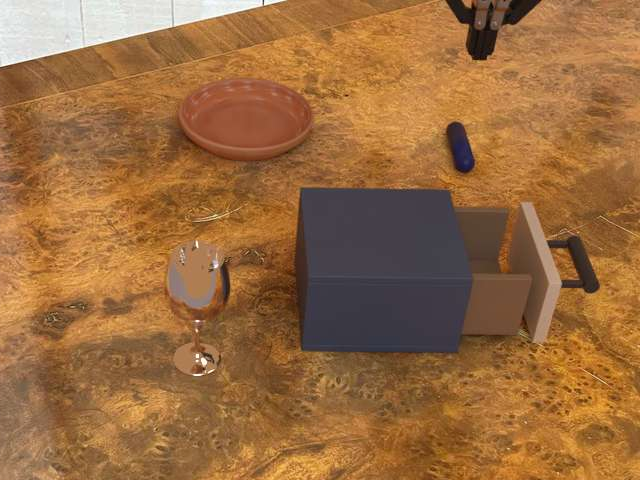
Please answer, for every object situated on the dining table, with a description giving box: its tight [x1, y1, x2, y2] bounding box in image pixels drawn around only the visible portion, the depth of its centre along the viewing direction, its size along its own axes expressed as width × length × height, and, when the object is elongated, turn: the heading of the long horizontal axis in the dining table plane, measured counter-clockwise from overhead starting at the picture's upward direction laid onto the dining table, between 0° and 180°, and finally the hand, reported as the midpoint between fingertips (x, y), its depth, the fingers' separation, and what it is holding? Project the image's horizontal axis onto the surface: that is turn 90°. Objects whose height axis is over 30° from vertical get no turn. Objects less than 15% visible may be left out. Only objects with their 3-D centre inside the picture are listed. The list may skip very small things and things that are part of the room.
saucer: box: [178, 77, 315, 162], centre depth 127 cm, size 16×16×3 cm
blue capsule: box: [445, 121, 476, 173], centre depth 125 cm, size 9×2×2 cm, turn 1°
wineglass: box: [163, 240, 231, 377], centre depth 94 cm, size 6×6×12 cm
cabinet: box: [294, 186, 474, 354], centre depth 102 cm, size 15×14×9 cm
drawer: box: [454, 201, 601, 344], centre depth 102 cm, size 18×12×7 cm
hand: (478, 56), depth 116 cm, fingers closed
